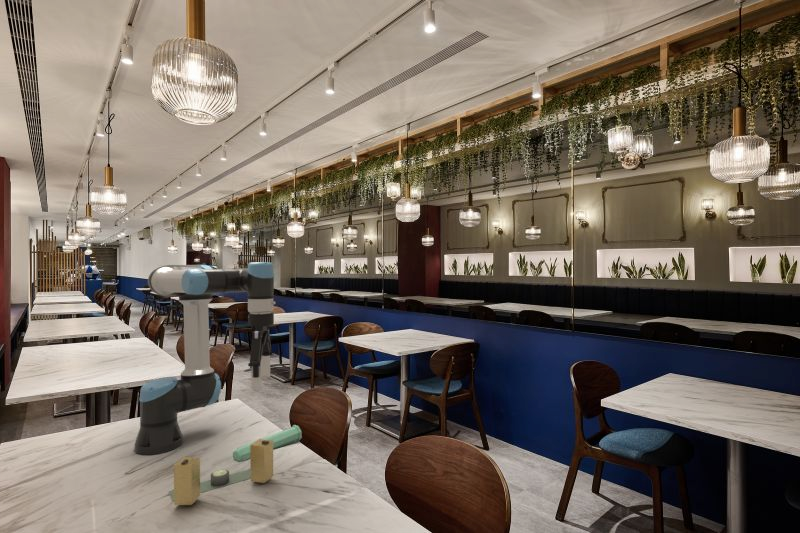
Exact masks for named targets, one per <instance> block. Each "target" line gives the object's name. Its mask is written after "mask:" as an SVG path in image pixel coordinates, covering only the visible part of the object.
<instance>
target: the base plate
mask: <svg viewBox="0 0 800 533" xmlns="http://www.w3.org/2000/svg"><path fill="white" fill-rule="evenodd" d="M246 480H247V481H248V480H251V472H250V468H248V469H246V470H242V471H237V472H234V473H231V474H230V471H229V470H227V469H218V470H216V471H213V472H212V473H211V474H210V479H209V480H206V481H205V480H204V481H200V494H202V493H205V492H208V491H213V490H217V489H220V488H223V487H227V486H229V485H234V484H236V483H239V482H244V481H246ZM168 493H169V494H168V495H169V497H170V499H171V501H172V502H174V489H172V490H169V491H168Z"/></svg>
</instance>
